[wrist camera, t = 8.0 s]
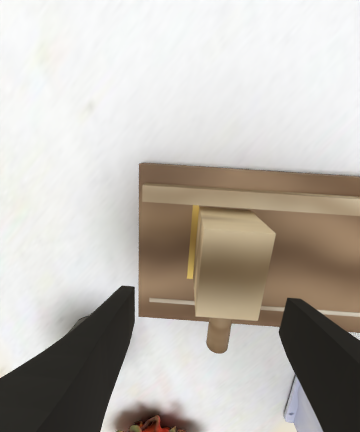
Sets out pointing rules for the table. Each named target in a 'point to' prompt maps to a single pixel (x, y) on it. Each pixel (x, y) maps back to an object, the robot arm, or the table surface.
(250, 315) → the block
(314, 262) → the walnut board
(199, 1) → the table surface
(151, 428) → the dragon fruit
